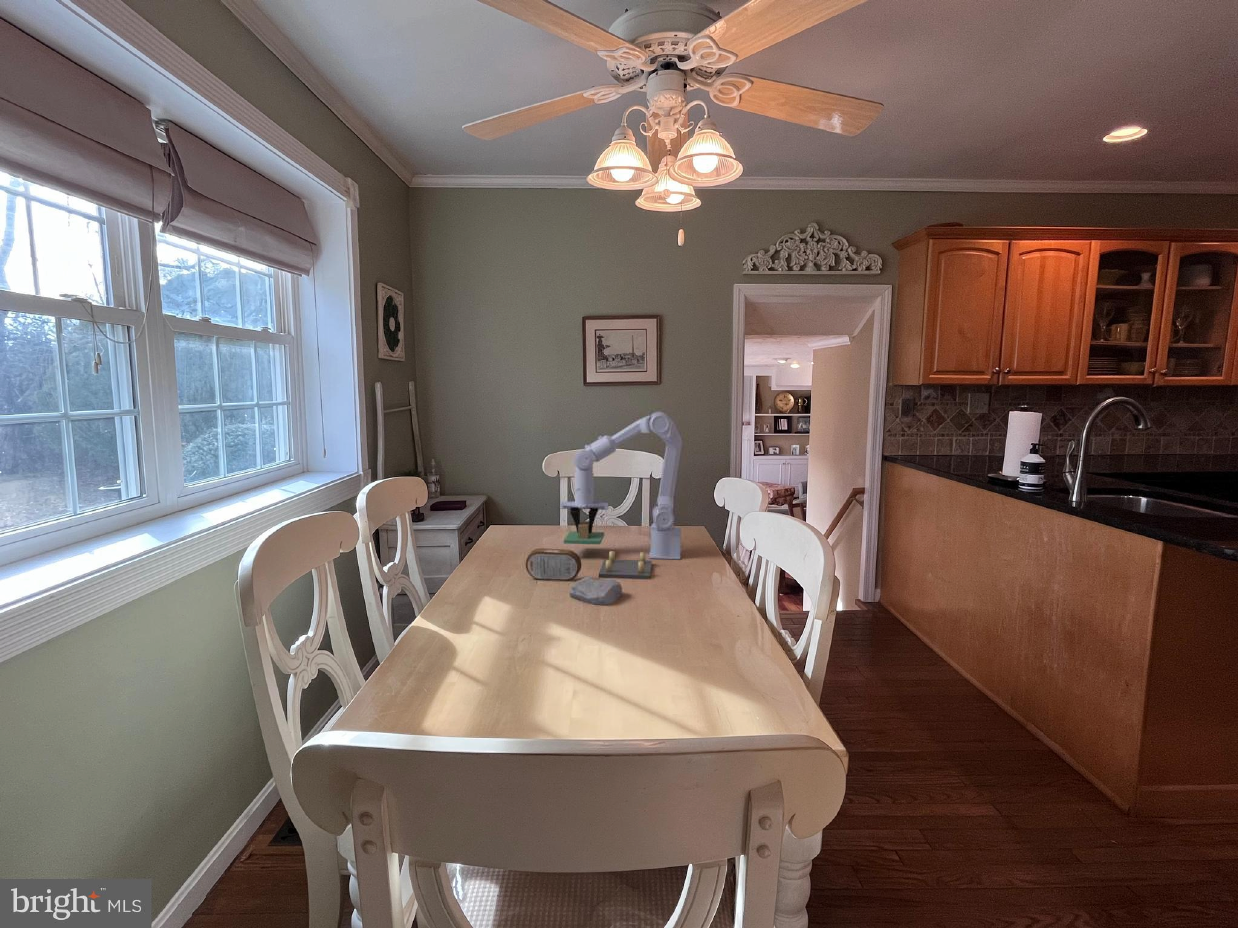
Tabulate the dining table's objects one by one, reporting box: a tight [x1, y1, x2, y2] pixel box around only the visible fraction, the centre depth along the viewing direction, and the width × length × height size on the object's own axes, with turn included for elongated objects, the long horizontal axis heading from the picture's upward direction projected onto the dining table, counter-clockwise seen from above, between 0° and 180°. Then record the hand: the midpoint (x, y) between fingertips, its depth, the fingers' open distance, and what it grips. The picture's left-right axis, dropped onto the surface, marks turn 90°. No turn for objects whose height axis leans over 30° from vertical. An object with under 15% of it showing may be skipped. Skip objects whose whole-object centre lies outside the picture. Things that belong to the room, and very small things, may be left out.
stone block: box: [568, 576, 623, 606], centre depth 152 cm, size 12×5×10 cm
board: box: [563, 520, 605, 545], centre depth 188 cm, size 11×11×5 cm
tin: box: [525, 547, 582, 582], centre depth 165 cm, size 15×3×8 cm, turn 84°
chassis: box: [598, 550, 653, 580], centre depth 174 cm, size 14×14×4 cm
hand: (584, 532), depth 188 cm, fingers closed on board, 3 cm apart
